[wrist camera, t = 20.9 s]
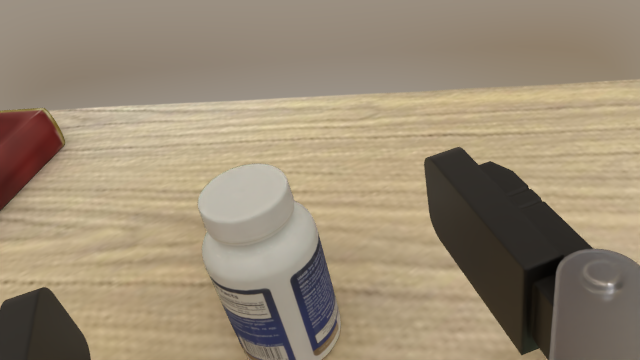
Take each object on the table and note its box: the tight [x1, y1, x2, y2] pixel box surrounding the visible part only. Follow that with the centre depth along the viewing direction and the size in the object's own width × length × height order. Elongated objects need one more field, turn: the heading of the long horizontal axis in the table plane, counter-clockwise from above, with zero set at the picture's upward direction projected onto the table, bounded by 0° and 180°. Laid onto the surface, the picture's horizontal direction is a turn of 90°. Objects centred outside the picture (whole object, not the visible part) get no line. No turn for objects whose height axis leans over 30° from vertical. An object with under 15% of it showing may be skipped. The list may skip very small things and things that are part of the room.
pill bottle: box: [198, 164, 341, 360], centre depth 27 cm, size 5×5×10 cm
